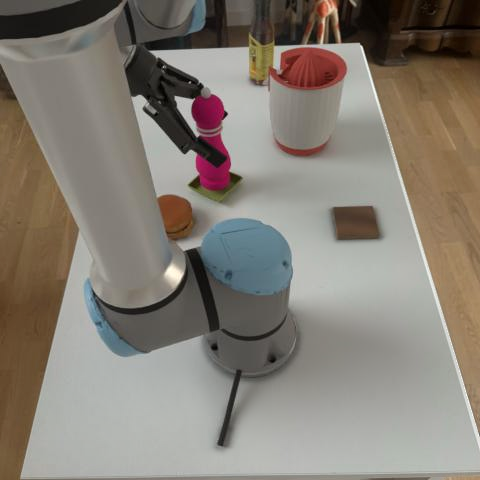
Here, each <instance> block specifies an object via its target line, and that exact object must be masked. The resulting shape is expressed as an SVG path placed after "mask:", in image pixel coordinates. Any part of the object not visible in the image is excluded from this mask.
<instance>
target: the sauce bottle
mask: <svg viewBox="0 0 480 480" xmlns="http://www.w3.org/2000/svg"><path fill="white" fill-rule="evenodd" d="M271 2H272V0H253V3H254V4H253V16H252V20H251V24H250V27H249V30H248V71H249V72H248V74H249V80H250V81H251V83H253V84H254V85H256V86H257V85H260V86H263V85H262V84H263V81H264V80H266V79H267V78H268V77H269V67H272V68H274V61H275V59H274V58H275V24H274V21H273V19H272V17H271Z"/></svg>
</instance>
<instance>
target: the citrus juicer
mask: <svg viewBox="0 0 480 480" xmlns="http://www.w3.org/2000/svg"><path fill="white" fill-rule="evenodd" d="M347 74H348V66H347V63H346V61H345V60H344V58H342V57H341V56H340V55H339V54H337V53H336V52H333V51H331V50H328V49H325V48H320V47H314V46H313V47H312V46H311V47H310V46H303V47H295V48H290V49H287V50H284V51H281V53H280V62H279V69H276V68H274V67H273V68H272V67H269V77H268V78H267V79H266V80H264V81H263V84H262V85H261V86H267V91H268V92H269V100H268V101H269V104H268V108H269V122H270V128H271V130H272V135H273V138H274V140H275V143H276V145H277V146H278V148H279V149H281V150H282V151H283V152H285V153H287V154H289V155H294V156H299V157H301V156H304V157H305V156H311V155H314V154H317V153H319V152H320V151H322V150H323V149H324V148H325V147H326V145H327V144H328V142H329V141H330V139H331V137H332V133H333V131H334V129H335V126H336V124H337V121H338V117H339V113H340V107H341V100H342V95H343V89H344V83H345V77H346V75H347Z"/></svg>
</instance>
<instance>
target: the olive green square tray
mask: <svg viewBox="0 0 480 480" xmlns="http://www.w3.org/2000/svg"><path fill="white" fill-rule="evenodd" d="M229 174H230V182H229V184H228V185H227V186H226V187H225V188H223V189H221V190H216V191H212V190H207V189H205V188H204V187H203V186H202V185H201V183H200V174H199V173H198V174H197V175H196V176H195V177H194V178H193V179H192V180H191V181H190V182H188V183H187V187H188V188H189V189H190V190H192V191H193V192H196V193H197V194H200V195H202V196H204V197H206V198H208V199H210V200H213V201H214V202H216V203H220V202H222V201H223V200H224V198H226V197H227V196H228V195H229V194H230V193H231V192H232V191H233V190H234V189H235V187H237V186H238V185H239V184H240V183H241V182H242V181H243V179H244V177H243V176H241V175H240V174H237V173H235V172H233V171H230V170H229Z"/></svg>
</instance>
